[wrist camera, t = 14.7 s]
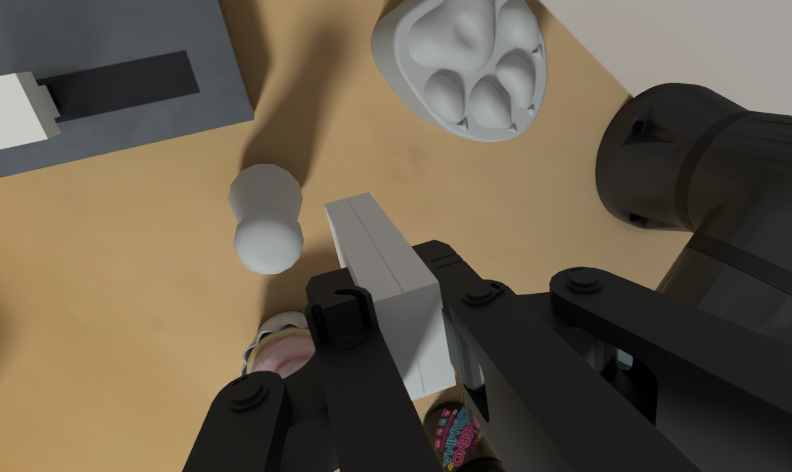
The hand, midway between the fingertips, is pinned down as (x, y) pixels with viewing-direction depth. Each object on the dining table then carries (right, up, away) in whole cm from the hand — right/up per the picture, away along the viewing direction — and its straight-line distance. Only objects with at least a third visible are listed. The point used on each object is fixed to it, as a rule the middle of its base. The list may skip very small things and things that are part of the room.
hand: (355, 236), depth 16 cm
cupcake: (-9, -10, +31) cm, 34 cm away
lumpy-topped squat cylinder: (+6, +15, +25) cm, 30 cm away
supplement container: (+7, -22, +41) cm, 47 cm away
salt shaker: (-10, +4, +25) cm, 27 cm away
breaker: (-22, +8, +15) cm, 28 cm away
